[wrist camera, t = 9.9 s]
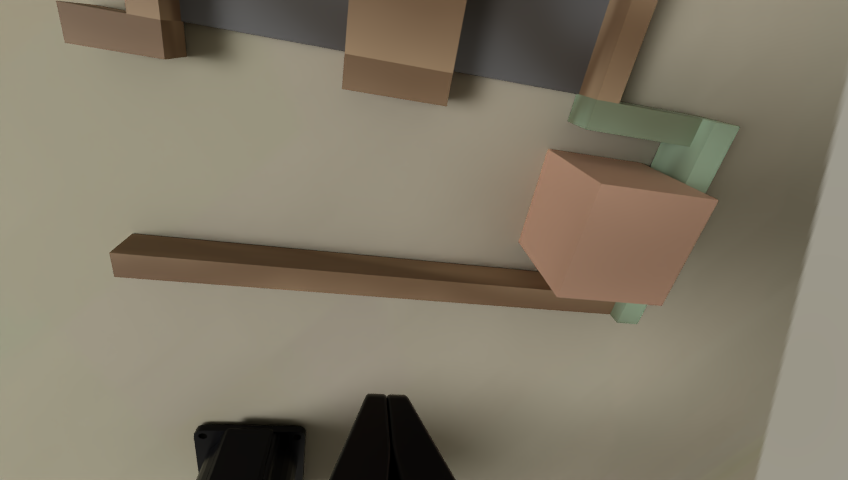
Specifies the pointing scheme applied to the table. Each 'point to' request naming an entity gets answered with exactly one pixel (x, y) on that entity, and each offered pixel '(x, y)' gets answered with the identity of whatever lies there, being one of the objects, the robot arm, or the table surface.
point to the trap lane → (424, 82)
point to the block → (611, 228)
